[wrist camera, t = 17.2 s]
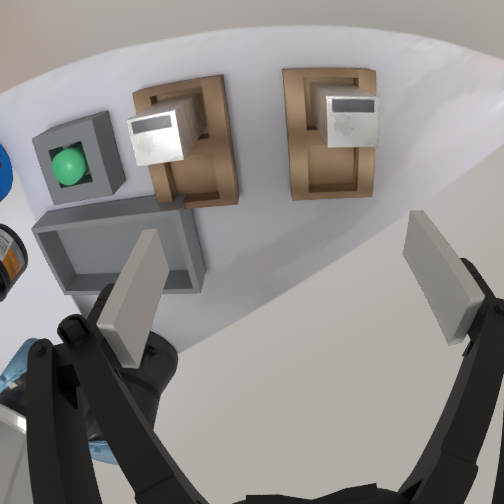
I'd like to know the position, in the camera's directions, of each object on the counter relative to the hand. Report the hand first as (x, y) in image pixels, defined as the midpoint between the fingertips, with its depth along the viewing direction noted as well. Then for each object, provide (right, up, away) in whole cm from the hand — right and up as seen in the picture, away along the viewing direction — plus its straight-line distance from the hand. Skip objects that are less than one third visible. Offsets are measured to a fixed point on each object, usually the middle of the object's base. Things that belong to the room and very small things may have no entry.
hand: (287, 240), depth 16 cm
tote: (-20, +1, +26) cm, 32 cm away
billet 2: (+6, +15, +14) cm, 21 cm away
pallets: (-1, +12, +17) cm, 21 cm away
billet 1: (-9, +14, +15) cm, 22 cm away
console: (-22, +11, +18) cm, 31 cm away
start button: (-22, +10, +16) cm, 29 cm away
